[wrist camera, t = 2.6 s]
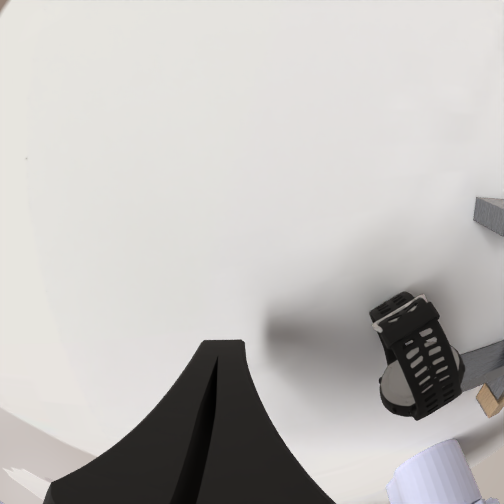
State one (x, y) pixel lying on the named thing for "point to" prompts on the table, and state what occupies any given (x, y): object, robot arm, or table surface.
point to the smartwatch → (415, 358)
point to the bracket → (499, 354)
